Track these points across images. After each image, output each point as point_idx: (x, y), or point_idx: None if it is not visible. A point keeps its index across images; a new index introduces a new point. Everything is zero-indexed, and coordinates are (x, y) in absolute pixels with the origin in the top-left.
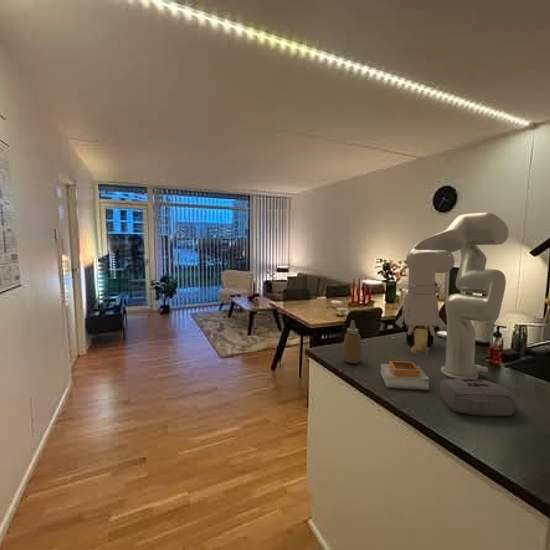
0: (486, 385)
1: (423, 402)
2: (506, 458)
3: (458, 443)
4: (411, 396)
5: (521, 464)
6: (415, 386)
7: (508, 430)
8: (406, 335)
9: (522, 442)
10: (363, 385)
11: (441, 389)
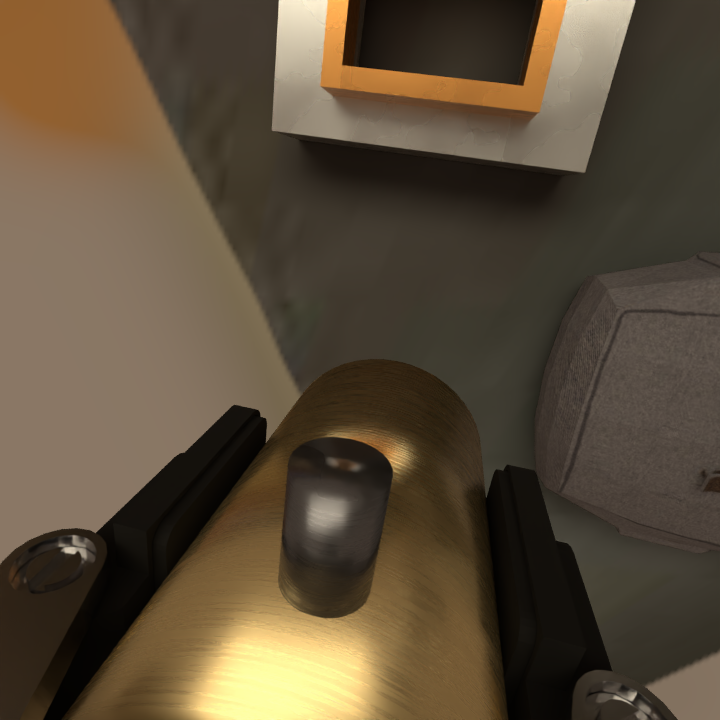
0: None
1: (438, 334)
2: None
3: None
4: (404, 265)
5: None
6: (477, 162)
7: (673, 568)
8: (111, 523)
9: (652, 625)
10: (164, 114)
11: (568, 334)
